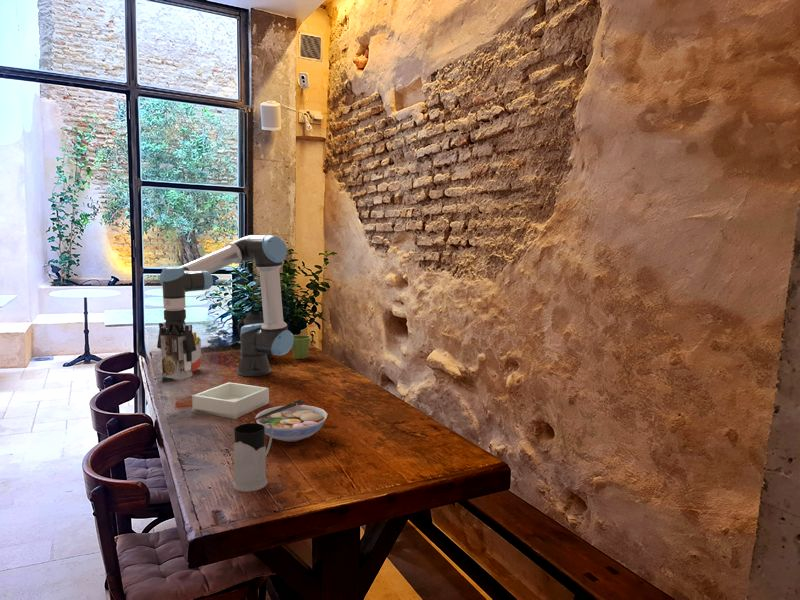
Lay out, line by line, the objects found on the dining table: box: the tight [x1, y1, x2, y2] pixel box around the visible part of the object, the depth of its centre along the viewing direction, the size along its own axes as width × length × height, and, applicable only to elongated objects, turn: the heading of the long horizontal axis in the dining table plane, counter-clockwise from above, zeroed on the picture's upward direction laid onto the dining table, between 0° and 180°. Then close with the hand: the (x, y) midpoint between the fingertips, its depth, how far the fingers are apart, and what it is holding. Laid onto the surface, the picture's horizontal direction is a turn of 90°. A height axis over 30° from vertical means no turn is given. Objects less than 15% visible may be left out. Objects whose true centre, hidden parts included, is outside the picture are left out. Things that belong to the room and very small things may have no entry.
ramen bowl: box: [247, 399, 329, 443], centre depth 171 cm, size 25×23×8 cm
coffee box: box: [160, 333, 193, 380], centre depth 200 cm, size 9×6×16 cm
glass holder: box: [232, 422, 273, 492], centre depth 141 cm, size 9×14×15 cm, turn 159°
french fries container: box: [192, 331, 202, 372], centre depth 253 cm, size 5×11×18 cm, turn 105°
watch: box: [156, 356, 174, 382], centre depth 238 cm, size 6×8×11 cm
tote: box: [191, 381, 270, 420], centre depth 201 cm, size 19×20×6 cm
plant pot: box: [291, 334, 312, 360], centre depth 285 cm, size 12×12×11 cm
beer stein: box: [237, 310, 273, 361], centre depth 281 cm, size 16×19×25 cm
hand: (177, 368), depth 200 cm, fingers closed on coffee box, 9 cm apart
